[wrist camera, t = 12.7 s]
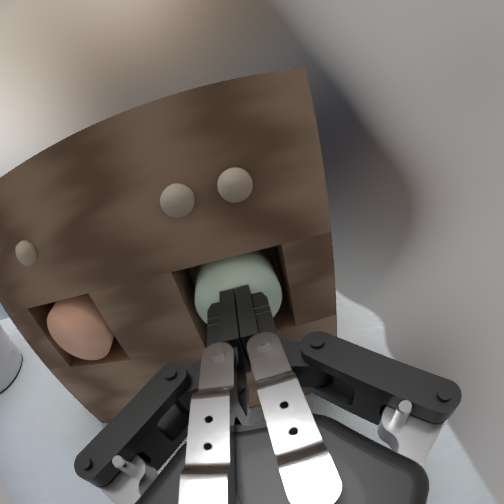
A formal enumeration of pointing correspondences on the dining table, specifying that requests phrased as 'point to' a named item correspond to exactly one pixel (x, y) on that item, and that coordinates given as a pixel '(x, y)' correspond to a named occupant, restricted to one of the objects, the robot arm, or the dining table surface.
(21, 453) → the dining table surface
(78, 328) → the button one
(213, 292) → the button two
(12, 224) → the button panel
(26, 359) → the dining table surface
